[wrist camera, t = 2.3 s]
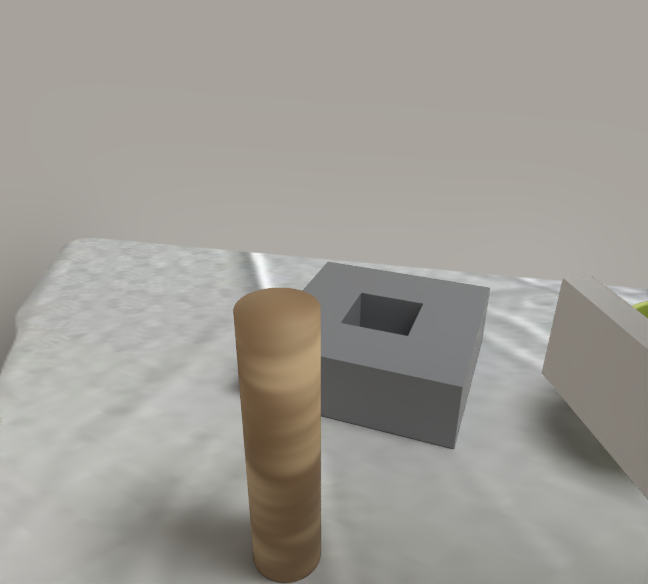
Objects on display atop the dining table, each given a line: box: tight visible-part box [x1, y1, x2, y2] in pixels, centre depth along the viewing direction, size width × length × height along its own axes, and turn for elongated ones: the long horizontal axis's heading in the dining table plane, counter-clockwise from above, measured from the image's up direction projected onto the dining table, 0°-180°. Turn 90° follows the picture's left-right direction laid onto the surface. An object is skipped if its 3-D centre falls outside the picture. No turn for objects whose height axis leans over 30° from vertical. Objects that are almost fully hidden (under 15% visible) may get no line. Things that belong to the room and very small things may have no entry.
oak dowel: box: [233, 288, 321, 583], centre depth 28 cm, size 4×4×15 cm
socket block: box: [303, 262, 490, 449], centre depth 45 cm, size 14×14×5 cm
